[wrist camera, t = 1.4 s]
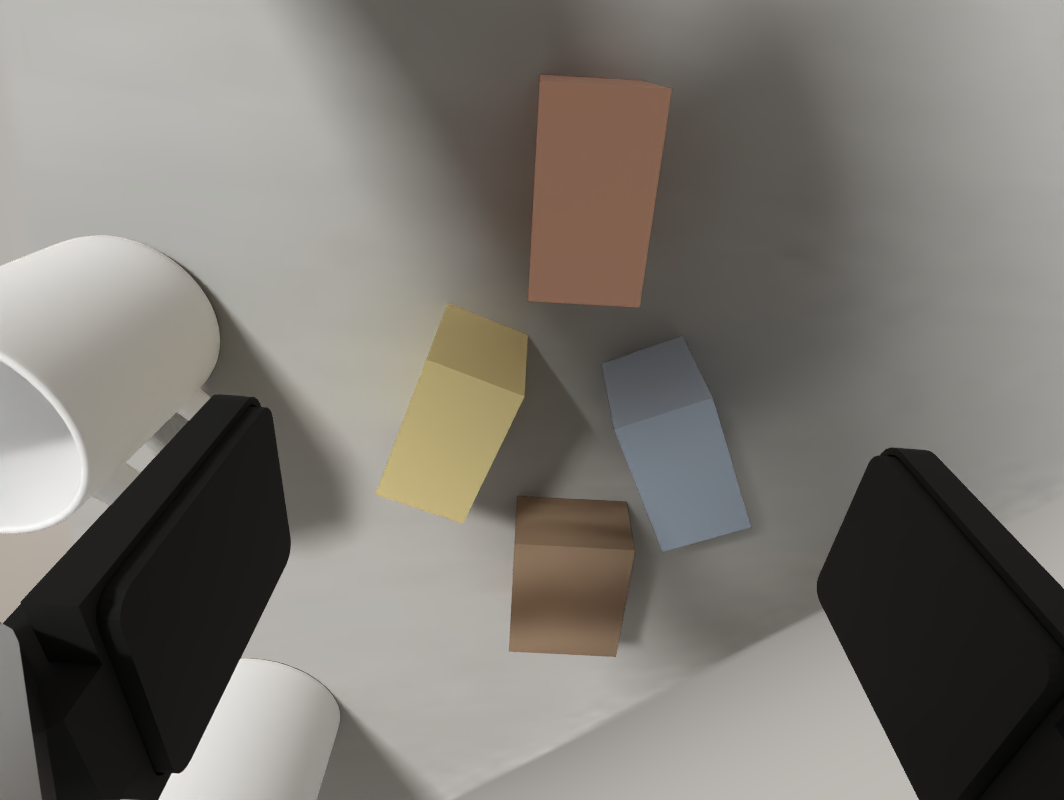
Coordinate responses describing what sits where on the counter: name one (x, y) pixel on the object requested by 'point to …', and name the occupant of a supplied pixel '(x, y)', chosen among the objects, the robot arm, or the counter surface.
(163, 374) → the mug
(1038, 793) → the robot arm
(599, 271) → the terracotta brick
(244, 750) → the tall pillar cylinder
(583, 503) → the walnut block
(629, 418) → the slate brick
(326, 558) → the counter surface
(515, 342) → the mustard brick
